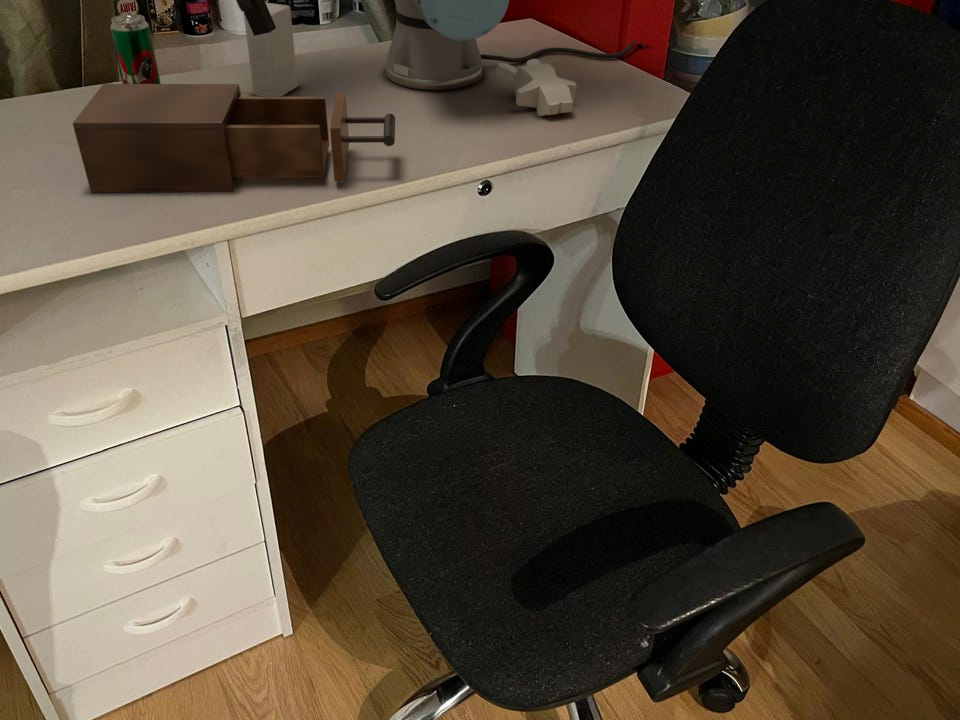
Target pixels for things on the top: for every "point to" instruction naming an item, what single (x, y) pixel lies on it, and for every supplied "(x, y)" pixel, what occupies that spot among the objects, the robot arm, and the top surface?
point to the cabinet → (157, 138)
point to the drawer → (293, 136)
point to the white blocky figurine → (540, 87)
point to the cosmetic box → (273, 55)
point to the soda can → (134, 49)
